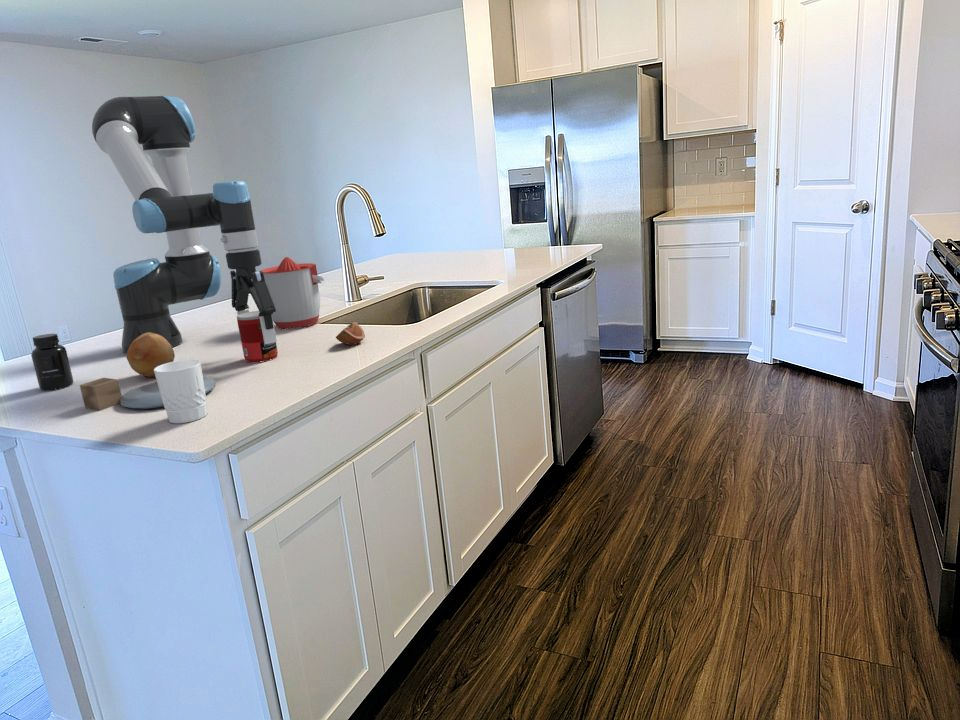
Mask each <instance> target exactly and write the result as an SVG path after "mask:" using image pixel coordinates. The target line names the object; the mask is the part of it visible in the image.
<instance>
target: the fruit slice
mask: <svg viewBox="0 0 960 720" xmlns="http://www.w3.org/2000/svg"><path fill="white" fill-rule="evenodd" d="M365 336H366V335H365V331H364V330H363V328H362V326H360V325H359V323H358V322H357V321H352V323H350V324H348V325H347V327H345V328H344V329H342V330H341V331H340V332H339V333H338V334H337V335H336V336H335V339H336V340H337V341H338V342H340V343H341V344H345V345H350V346H351V345H357V344H358V343H361V342H362V341H363V340H364V339H365Z"/></svg>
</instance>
